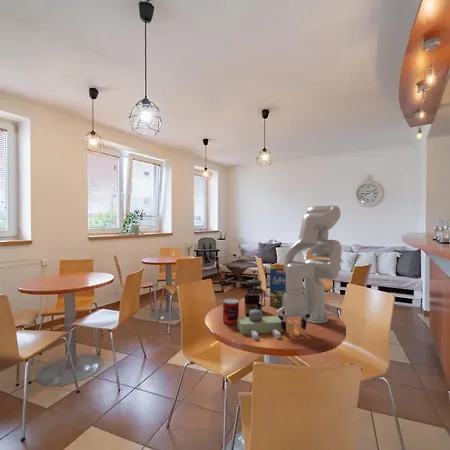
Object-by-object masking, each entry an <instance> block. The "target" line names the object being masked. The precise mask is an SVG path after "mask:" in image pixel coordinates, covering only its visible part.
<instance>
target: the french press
mask: <svg viewBox="0 0 450 450" xmlns="http://www.w3.org/2000/svg"><path fill="white" fill-rule="evenodd" d="M250 272H251V273H252V274H253V275H255V274H256V273H257V272H258V270H254V269H253V270H250ZM262 282H263V281H262V280H261V279H259V280H258V279H247V280H246V284H247V286H249V287H248V288H246V289H245V294H246V293H258V294H259V295H260V300H259V310H261V311H262V312H263V307H264V308H265V307H266V290H265V289H261V288H258V287H260V286H262ZM263 292H264V294H263ZM262 294H263V295H264V298H263V297H262V296H263V295H262ZM262 299H263V300H262ZM262 301H264V303H263V302H262Z"/></svg>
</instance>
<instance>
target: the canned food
mask: <svg viewBox="0 0 450 450" xmlns="http://www.w3.org/2000/svg"><path fill="white" fill-rule="evenodd" d="M239 304H240V302H239V299H236V298H226V299H224V300H223V301H222V308H223V310H222V311H223V312H222V316H223V317H222V321H223V323H224V324H225V325H227V326H235V325H237V318H240V317H239V313H240V312H239V307H240V306H239Z"/></svg>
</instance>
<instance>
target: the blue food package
mask: <svg viewBox="0 0 450 450" xmlns="http://www.w3.org/2000/svg"><path fill="white" fill-rule="evenodd" d="M269 266H270V267H269V272H270V273H269V274H270V275H269V279H270V280H269V306H270V307H280V308H282V301H283V295H284V293H286V274H285V273H284V264H272V263H271V264H270V265H269Z"/></svg>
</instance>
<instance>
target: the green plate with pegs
mask: <svg viewBox="0 0 450 450" xmlns="http://www.w3.org/2000/svg"><path fill="white" fill-rule="evenodd" d="M236 325H237V326H236V328H237V329H238V331H239V333H240V334H241V335H246V334H247V335H248V334H249V335H250V336H251V338H252V339H253V341H256V340H257V341H258V340H259V334H269V333H271V334H272V336H273V337H274V338H275V339H276V340H277V339H282V338H281V337H282V335H281V334H282V332H283V333H284V332H285V331H284V330H283V329H282V327H281V319H280V318H279V317H278V316H277V315H269V316H266V315H265V316H263V310H262V311H261V310H257V309H253V310H250V311H249V317H246V316H245V317H239V318H237V324H236Z"/></svg>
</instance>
